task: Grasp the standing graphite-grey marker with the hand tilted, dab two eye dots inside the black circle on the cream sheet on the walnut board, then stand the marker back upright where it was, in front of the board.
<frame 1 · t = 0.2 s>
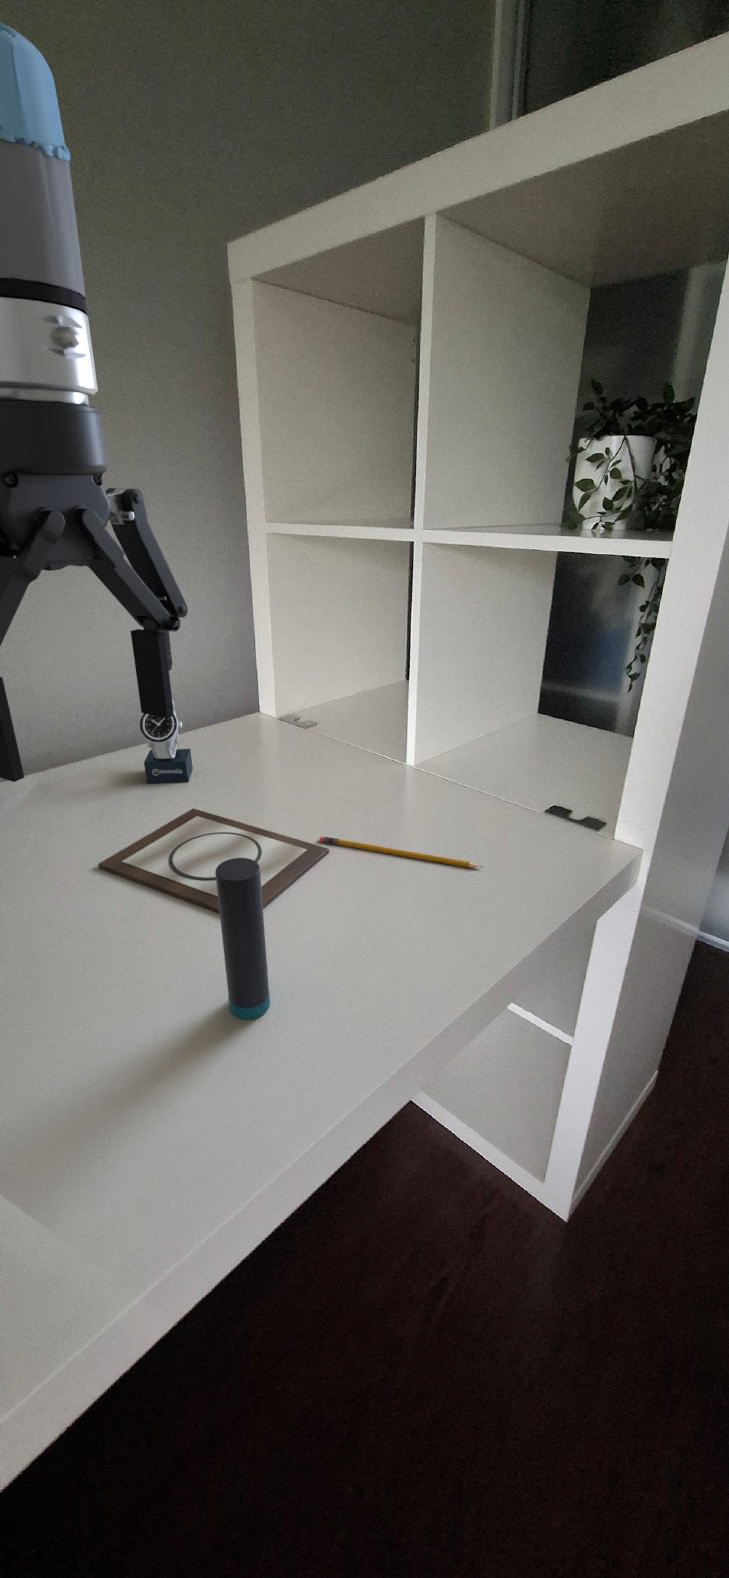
hand: (89, 742, 49), 22 cm above the table, tool pointing down, fingers open, 13 cm apart
marker: (249, 1005, 56), on the table
sketch board: (216, 859, 76), on the table
watch: (170, 777, 96), on the table
pencil: (399, 857, 77), on the table
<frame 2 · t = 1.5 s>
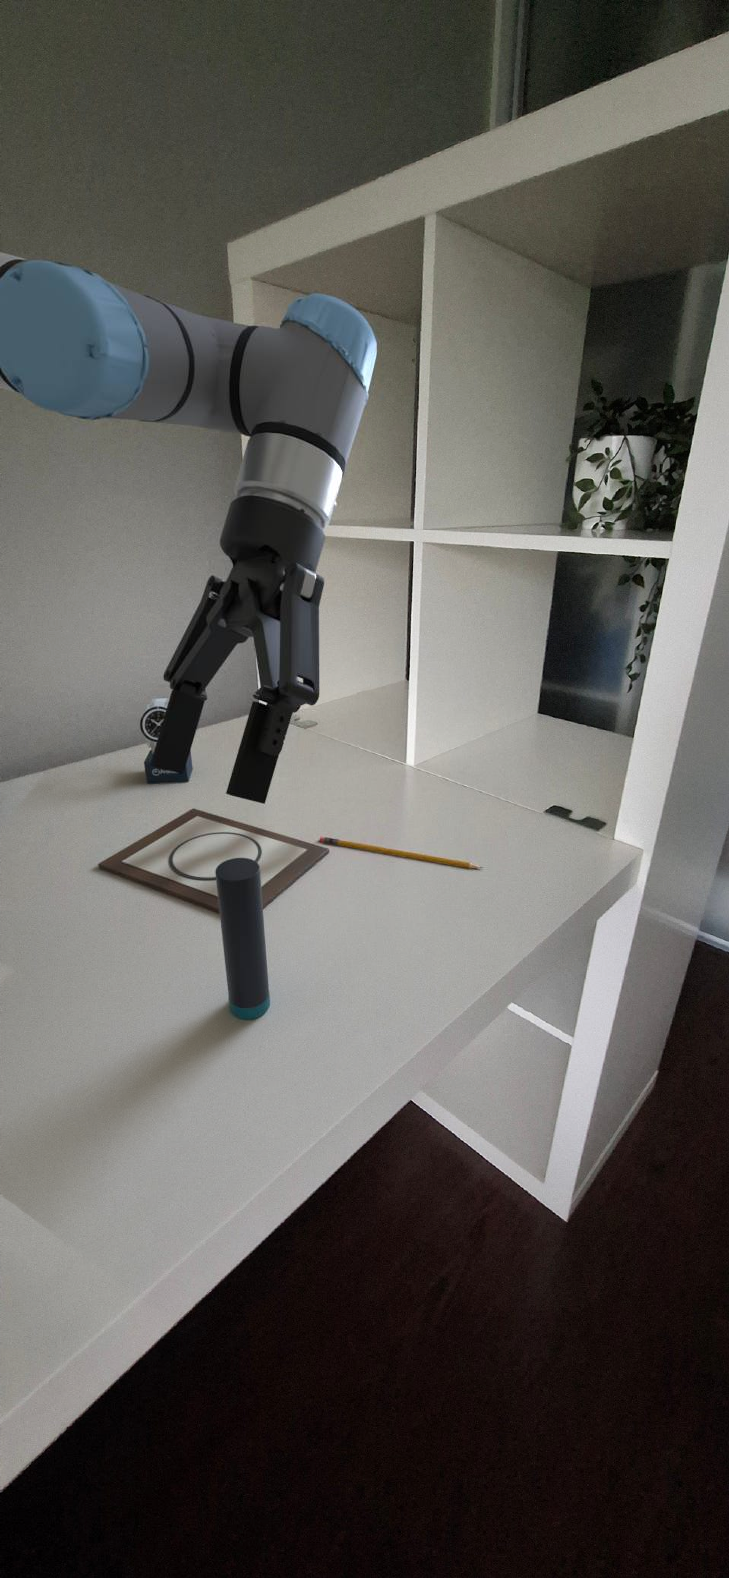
hand: (202, 783, 52), 18 cm above the table, tool tilted 30°, fingers open, 13 cm apart
nothing on the table moved.
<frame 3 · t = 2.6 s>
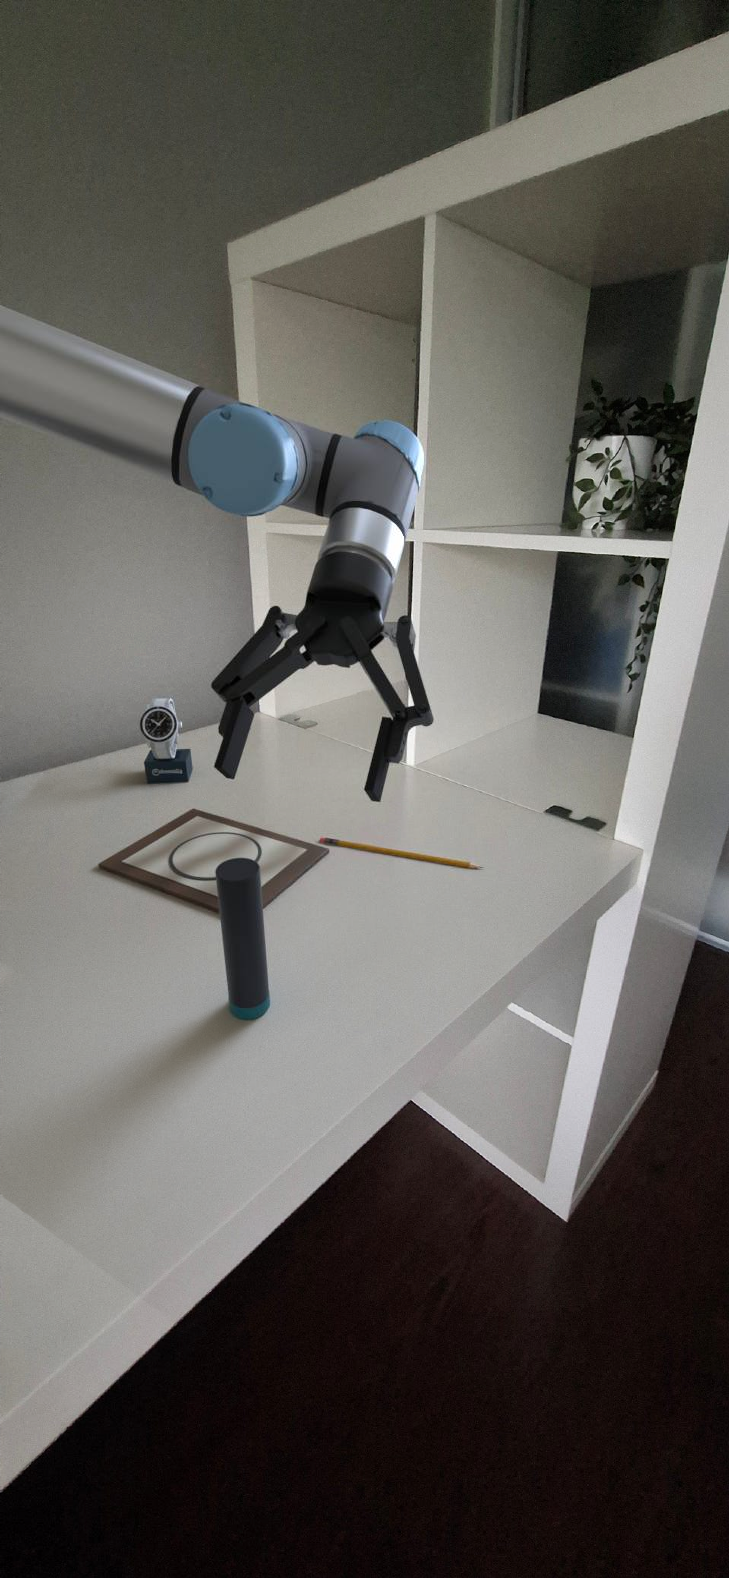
hand: (295, 784, 58), 15 cm above the table, tool tilted 45°, fingers open, 13 cm apart
nothing on the table moved.
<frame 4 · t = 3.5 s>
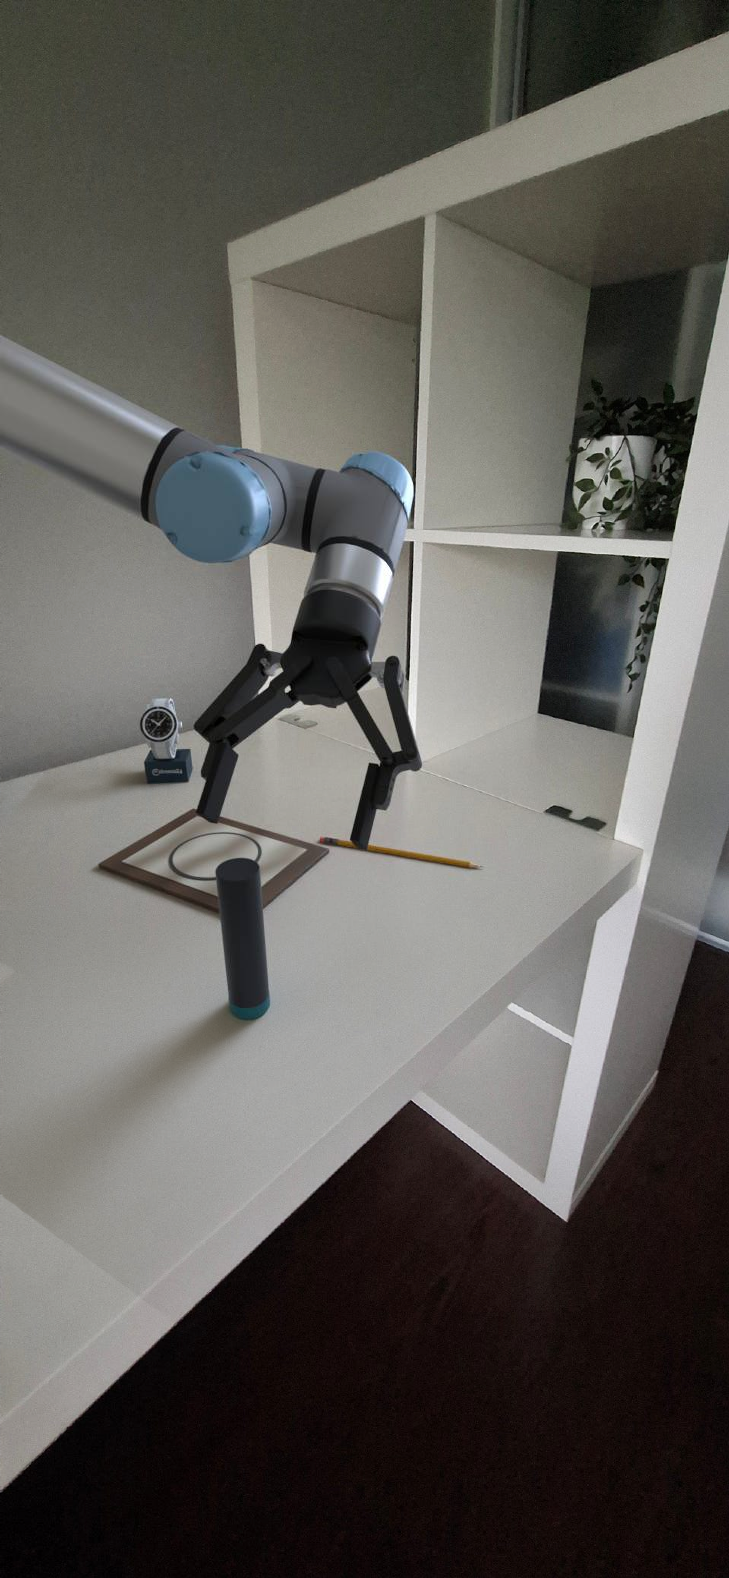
hand: (279, 831, 56), 12 cm above the table, tool tilted 45°, fingers open, 13 cm apart
nothing on the table moved.
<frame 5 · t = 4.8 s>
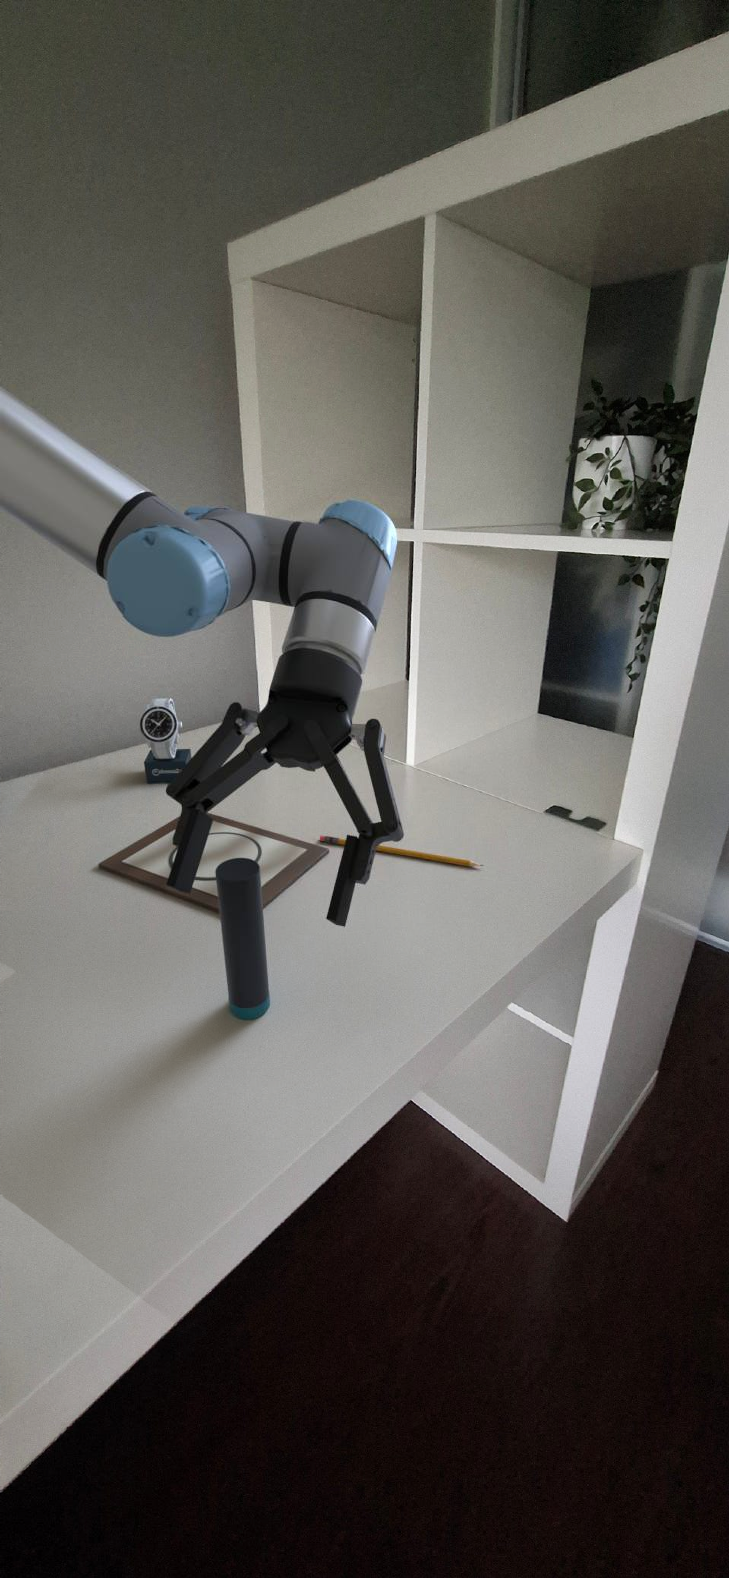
hand: (253, 906, 53), 9 cm above the table, tool tilted 45°, fingers open, 13 cm apart
nothing on the table moved.
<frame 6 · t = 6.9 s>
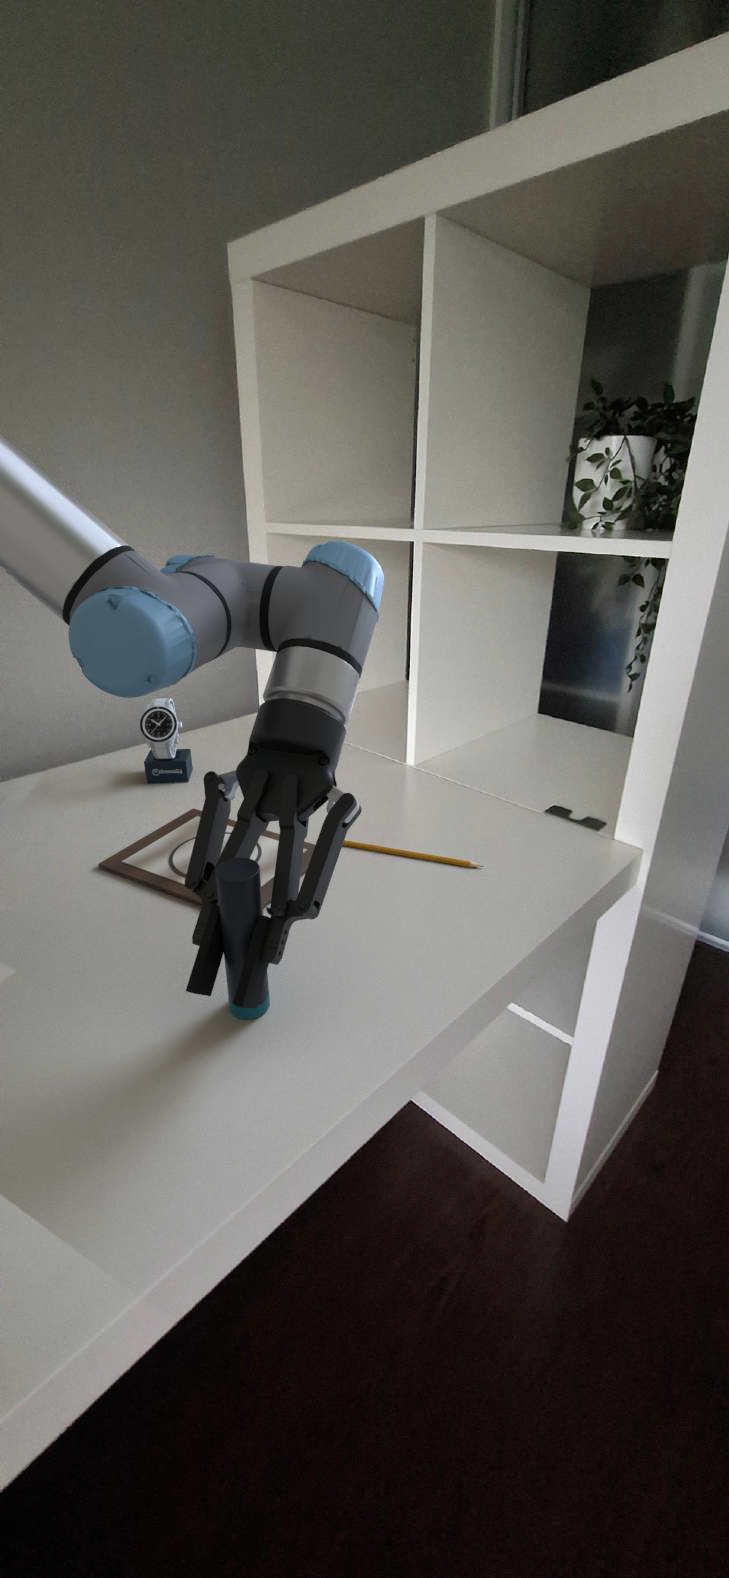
hand: (221, 999, 51), 4 cm above the table, tool tilted 45°, fingers closed on marker, 3 cm apart
marker: (249, 1004, 56), on the table, touching gripper
everything else where it was.
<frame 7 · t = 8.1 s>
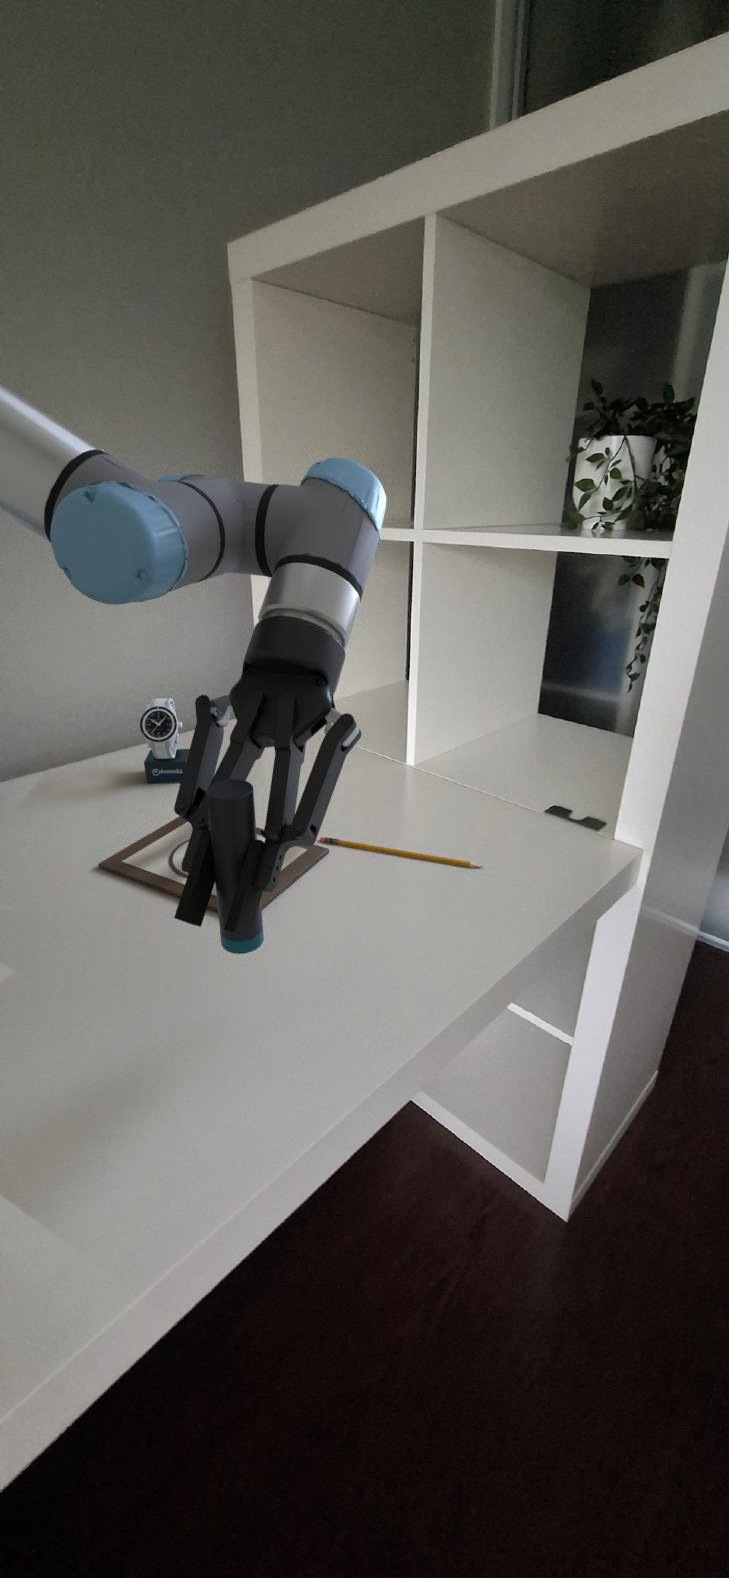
hand: (212, 927, 48), 10 cm above the table, tool tilted 45°, fingers closed on marker, 3 cm apart
marker: (242, 940, 53), point 6 cm above the table, touching gripper
everything else where it was.
when the fingers open (4 cm above the table, at t = 23.0 s): marker stays where it is, on the table.
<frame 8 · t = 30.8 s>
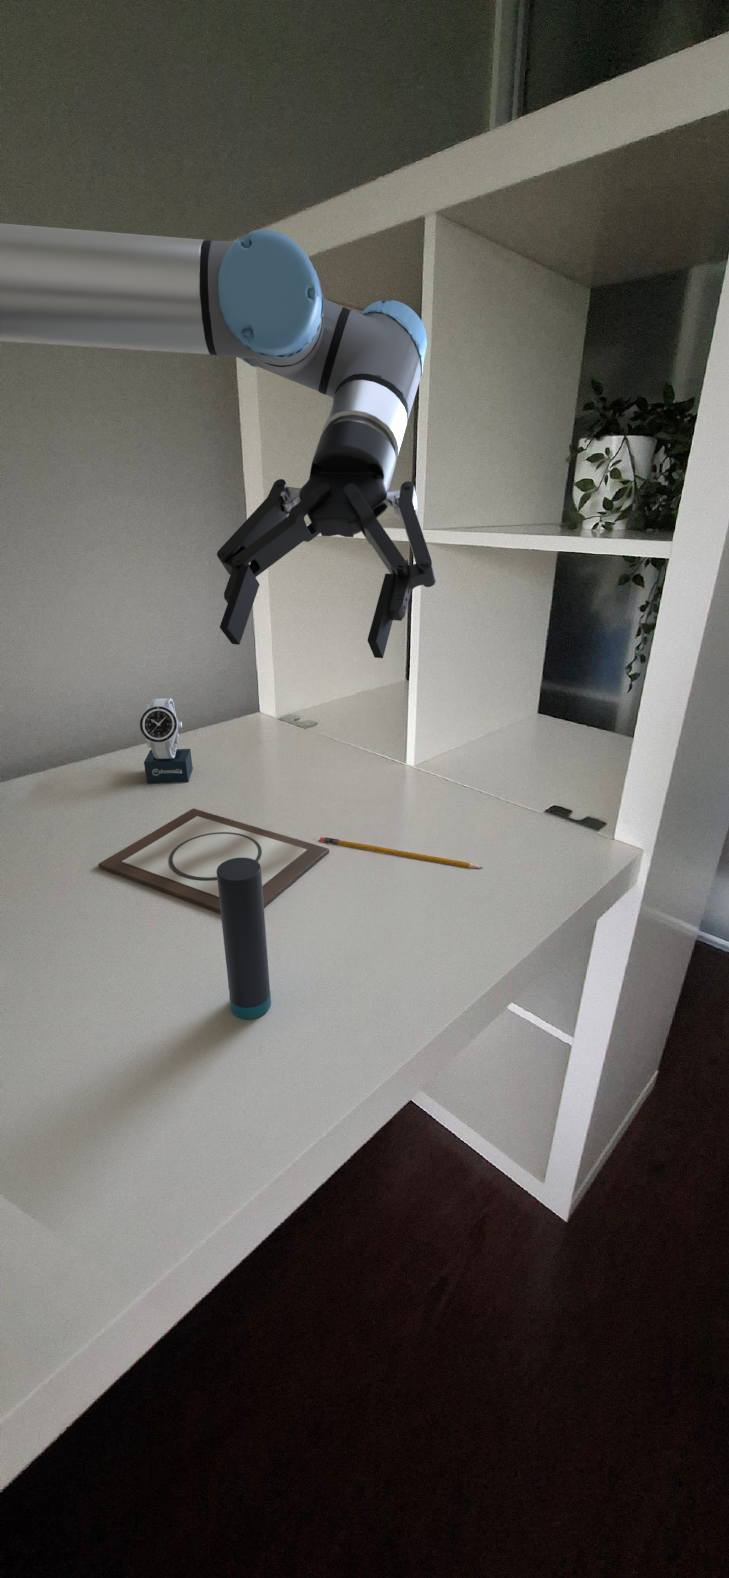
hand: (299, 643, 59), 26 cm above the table, tool tilted 45°, fingers open, 13 cm apart
marker: (250, 1004, 56), on the table
everything else where it was.
at the end: marker inside the target area on the table beside the sketch board (0.1 cm from its centre), on the table; marker tilted 0°; the gripper is holding nothing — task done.
